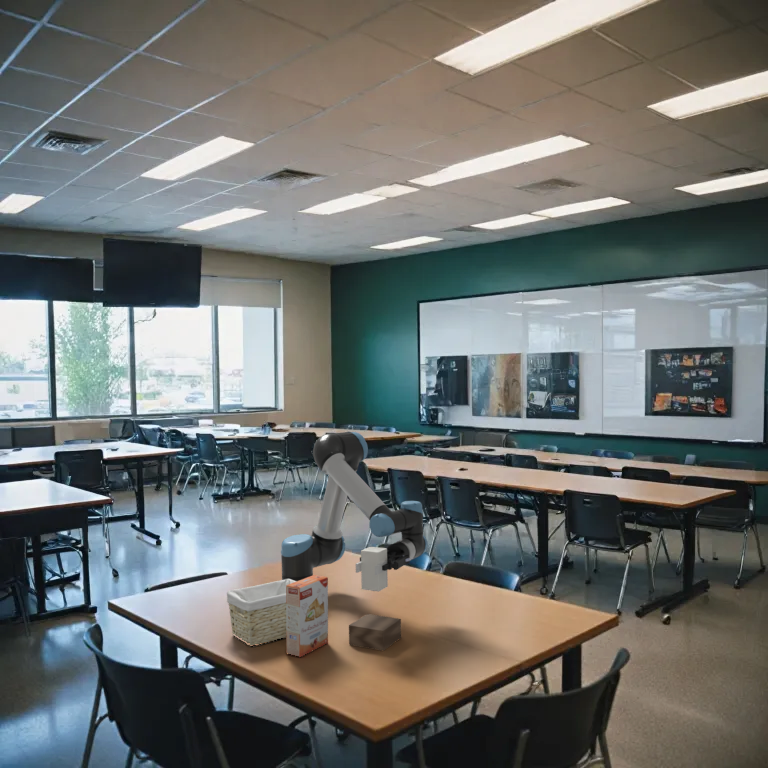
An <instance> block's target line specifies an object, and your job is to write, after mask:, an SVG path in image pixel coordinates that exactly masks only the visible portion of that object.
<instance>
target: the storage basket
mask: <svg viewBox="0 0 768 768" xmlns="http://www.w3.org/2000/svg"><path fill="white" fill-rule="evenodd" d="M294 582H297V581H294V580H291V579H286V580H282V579H280V580H276V581H271V582H267V583H262V584H257V585H254V586H253V585H252V586H246V587H241V588H235V589H230V590H228V591H227V592H226V596H227V597H226V600H227V601H226V602H227V604H228V607H229V616H230V624H231V630H232V631H231V633H233V634H235V635H236V636H238V637H239V638H242V640H244V641H246V642H247V643H250V645H255V644H260V643H264V642H268V643H270V642H269V641H273V642H275V641H274V640H276V641H278V640H277V639H280V640H282V639H281V638H283V639H286V585H289V584H291V583H294ZM233 634H232V635H233Z"/></svg>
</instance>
